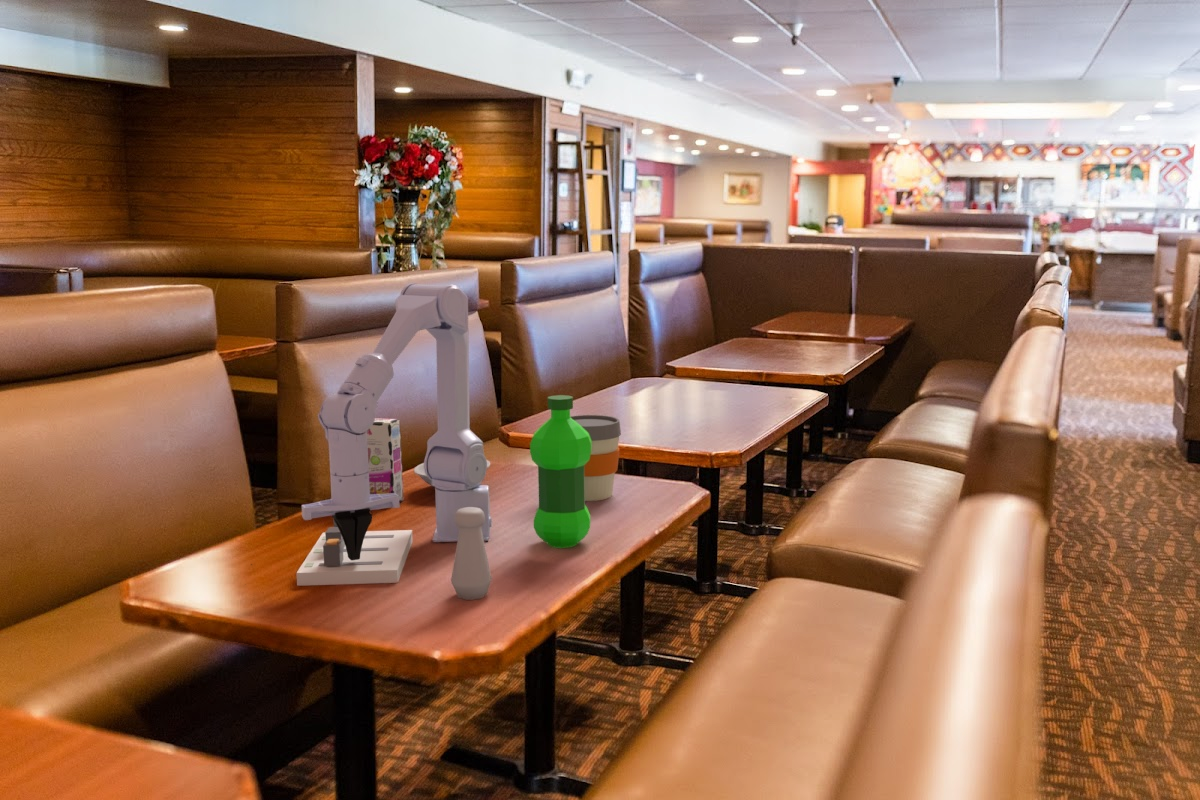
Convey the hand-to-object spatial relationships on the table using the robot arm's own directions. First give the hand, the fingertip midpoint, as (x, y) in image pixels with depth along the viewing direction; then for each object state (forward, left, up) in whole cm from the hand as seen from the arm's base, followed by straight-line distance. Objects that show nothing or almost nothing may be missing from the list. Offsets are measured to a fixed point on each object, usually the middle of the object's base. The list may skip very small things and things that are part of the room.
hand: (353, 558), depth 165 cm
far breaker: (+4, -14, -1) cm, 15 cm away
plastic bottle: (-33, -14, -3) cm, 36 cm away
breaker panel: (0, -7, -3) cm, 8 cm away
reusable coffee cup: (-39, -45, -3) cm, 60 cm away
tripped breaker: (+3, 0, -1) cm, 3 cm away
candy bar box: (+3, -44, -3) cm, 44 cm away
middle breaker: (+4, -7, -1) cm, 8 cm away
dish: (-12, -52, -3) cm, 53 cm away
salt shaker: (-19, +10, -3) cm, 21 cm away
